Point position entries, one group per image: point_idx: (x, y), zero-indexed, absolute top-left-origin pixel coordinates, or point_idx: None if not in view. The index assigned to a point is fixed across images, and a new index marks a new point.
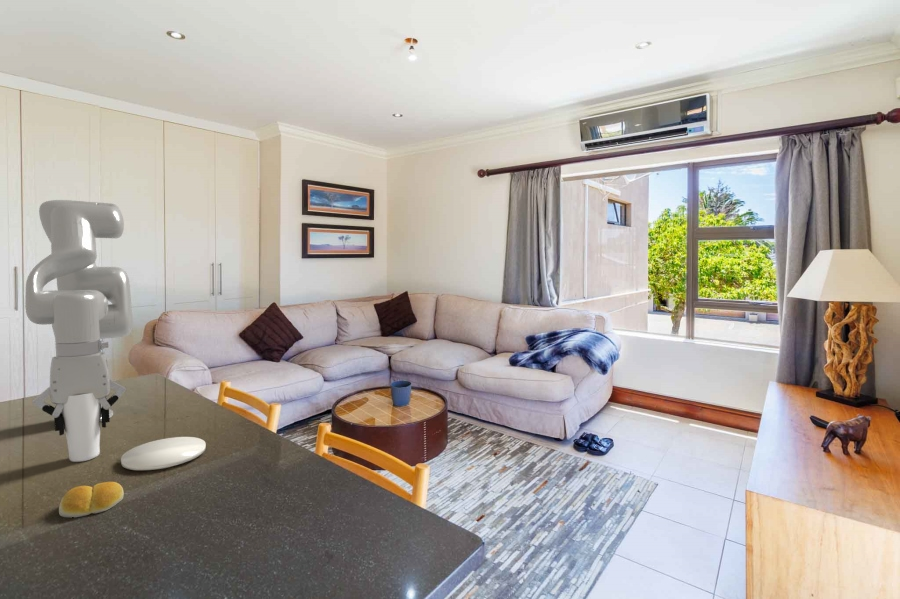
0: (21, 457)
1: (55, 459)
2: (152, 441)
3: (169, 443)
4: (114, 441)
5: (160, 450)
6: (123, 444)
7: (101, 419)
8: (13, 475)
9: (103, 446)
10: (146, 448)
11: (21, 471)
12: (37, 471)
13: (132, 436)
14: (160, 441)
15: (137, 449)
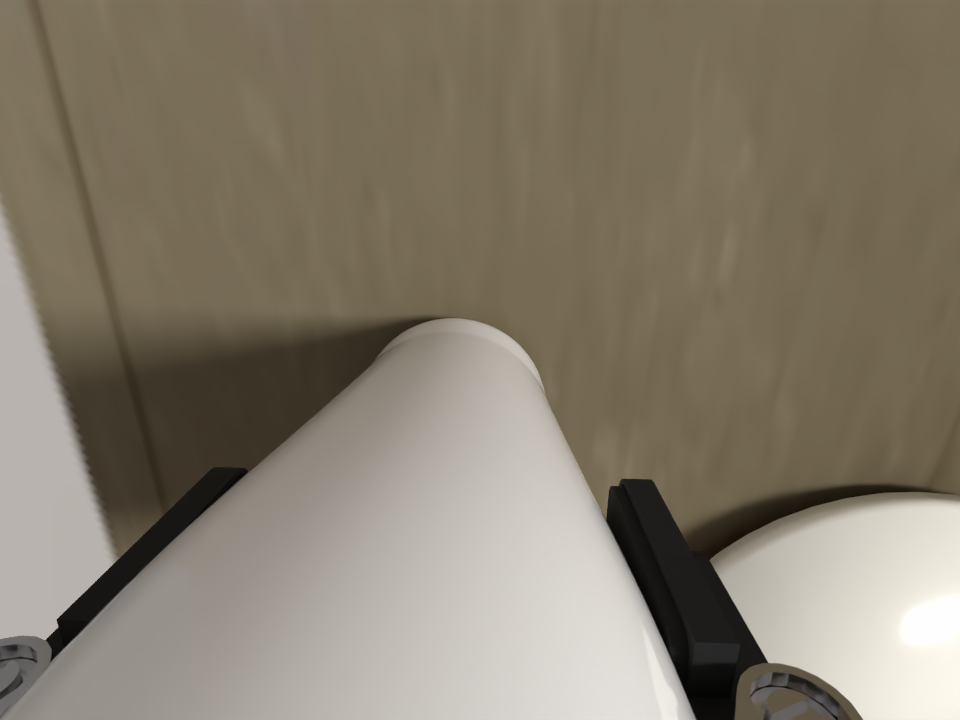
0: (37, 65)
1: (283, 297)
2: (884, 513)
3: (952, 627)
4: (670, 129)
5: (857, 710)
6: (712, 269)
7: (622, 537)
8: (102, 440)
9: (581, 214)
10: (803, 626)
11: (127, 399)
12: (217, 460)
13: (822, 79)
14: (925, 550)
15: (753, 610)
